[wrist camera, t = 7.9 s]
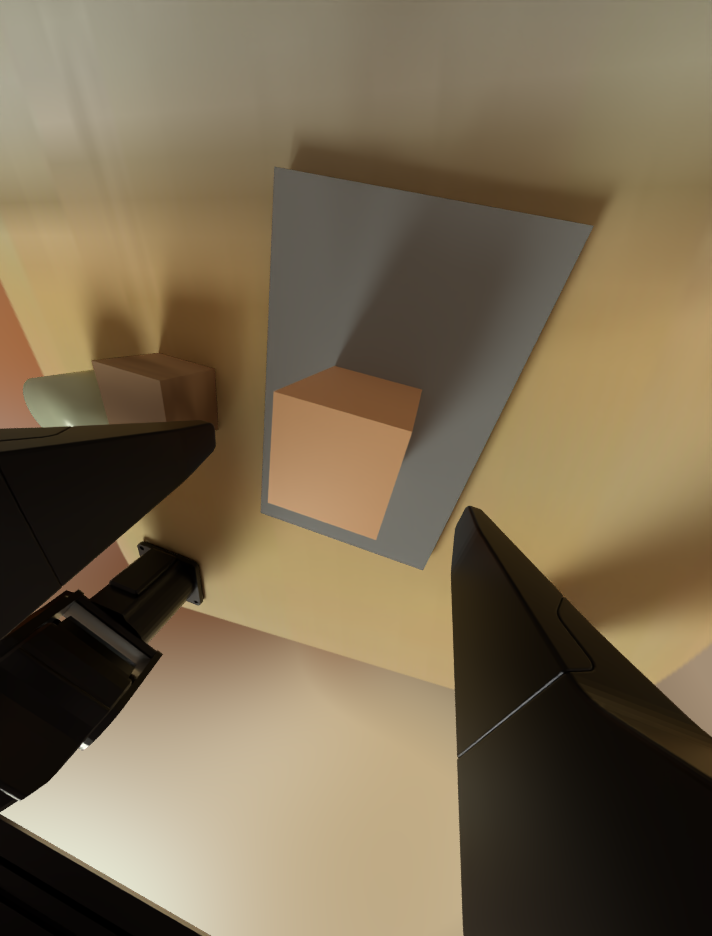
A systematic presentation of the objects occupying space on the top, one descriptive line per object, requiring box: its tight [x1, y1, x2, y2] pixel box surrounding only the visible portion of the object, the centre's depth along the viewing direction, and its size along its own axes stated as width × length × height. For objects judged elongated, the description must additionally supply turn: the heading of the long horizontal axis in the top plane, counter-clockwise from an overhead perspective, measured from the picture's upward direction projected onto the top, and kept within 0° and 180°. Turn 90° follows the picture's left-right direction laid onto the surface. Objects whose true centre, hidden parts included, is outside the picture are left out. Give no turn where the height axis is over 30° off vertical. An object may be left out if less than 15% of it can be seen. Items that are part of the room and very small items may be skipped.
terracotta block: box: [268, 366, 422, 540], centre depth 12 cm, size 4×4×6 cm
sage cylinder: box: [23, 370, 109, 427], centre depth 18 cm, size 4×4×4 cm
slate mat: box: [261, 167, 593, 570], centre depth 15 cm, size 18×12×1 cm, turn 169°
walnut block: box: [92, 353, 218, 430], centre depth 16 cm, size 4×4×4 cm
